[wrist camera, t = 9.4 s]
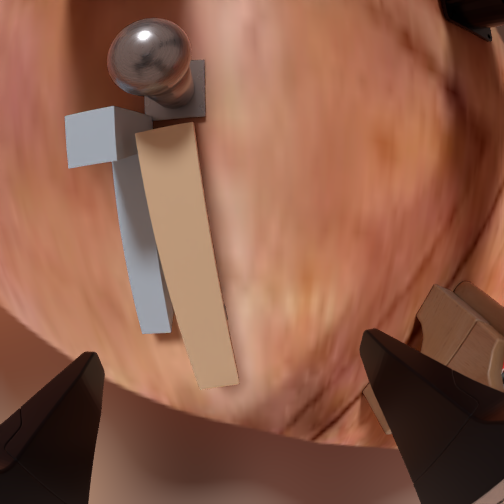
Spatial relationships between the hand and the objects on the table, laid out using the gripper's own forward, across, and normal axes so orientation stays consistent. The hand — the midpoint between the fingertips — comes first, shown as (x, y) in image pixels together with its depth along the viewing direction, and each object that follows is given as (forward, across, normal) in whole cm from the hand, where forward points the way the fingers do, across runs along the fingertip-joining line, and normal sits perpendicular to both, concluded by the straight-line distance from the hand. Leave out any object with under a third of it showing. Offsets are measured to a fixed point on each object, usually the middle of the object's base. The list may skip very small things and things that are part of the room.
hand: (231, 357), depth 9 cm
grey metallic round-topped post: (+12, +2, -9) cm, 15 cm away
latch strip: (+11, +5, 0) cm, 12 cm away
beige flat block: (+11, +1, 0) cm, 11 cm away
